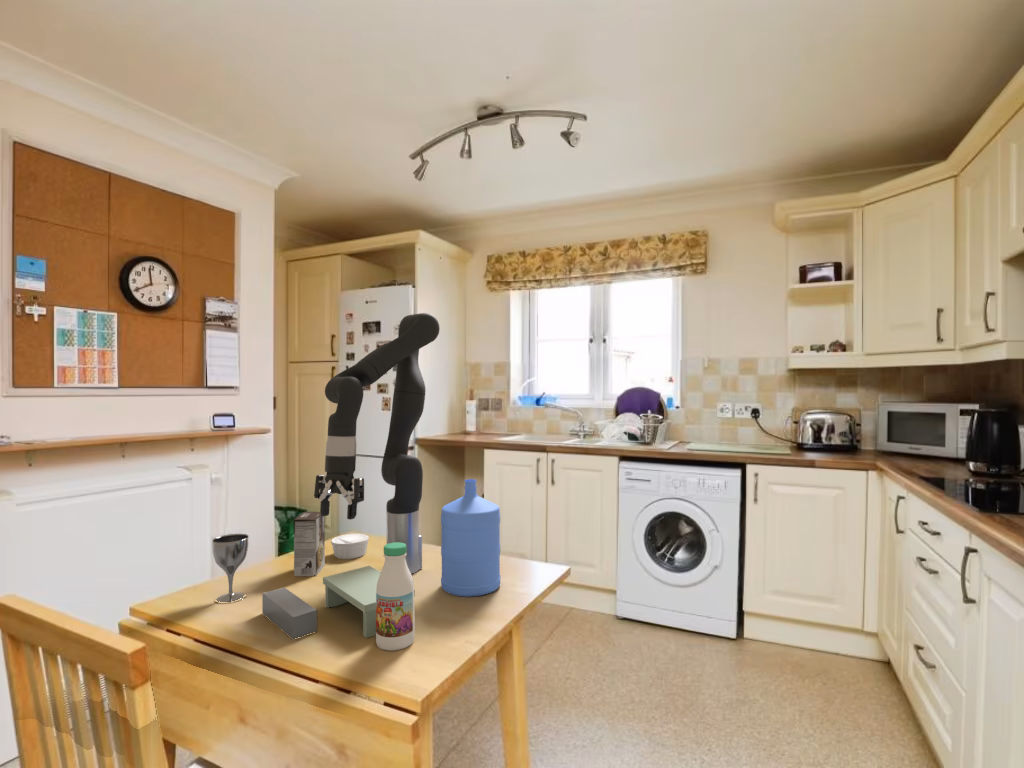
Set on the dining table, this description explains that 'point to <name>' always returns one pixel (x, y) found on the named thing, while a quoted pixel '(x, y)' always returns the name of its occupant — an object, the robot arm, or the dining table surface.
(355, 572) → the sage shelf
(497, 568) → the water jug
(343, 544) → the ramekin
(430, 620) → the dining table surface
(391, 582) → the milk bottle
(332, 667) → the dining table surface
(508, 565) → the dining table surface
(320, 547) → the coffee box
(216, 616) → the dining table surface
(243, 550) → the wine glass
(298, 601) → the grey rectangular brick
